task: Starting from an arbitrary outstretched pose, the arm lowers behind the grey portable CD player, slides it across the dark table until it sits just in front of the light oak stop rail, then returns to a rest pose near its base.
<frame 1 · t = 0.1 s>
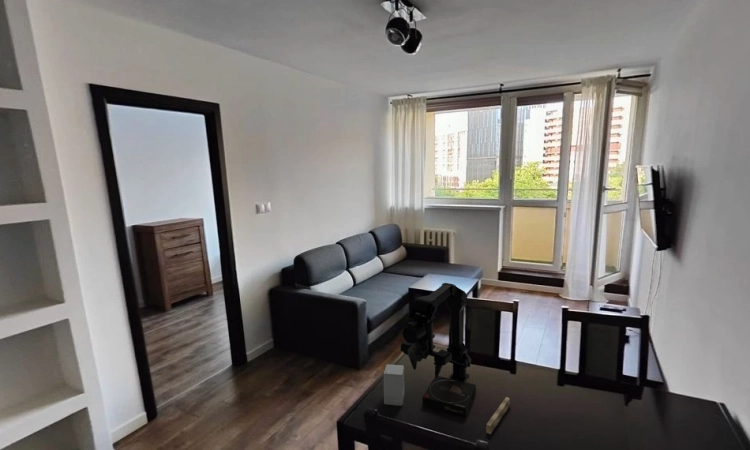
hand: (425, 373, 129), 15 cm above the table, fingers open, 9 cm apart
portable cd player: (449, 400, 137), on the table
oak stop rail: (498, 418, 125), on the table
supplement box: (394, 400, 138), on the table
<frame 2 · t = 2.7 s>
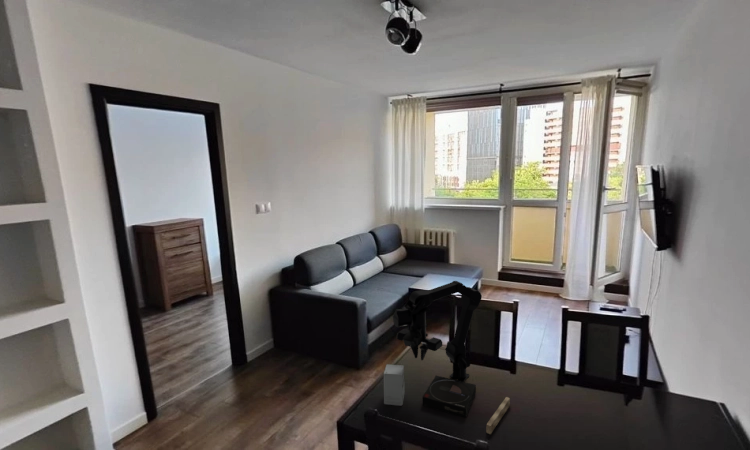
hand: (419, 358, 145), 12 cm above the table, fingers open, 3 cm apart
nothing on the table moved.
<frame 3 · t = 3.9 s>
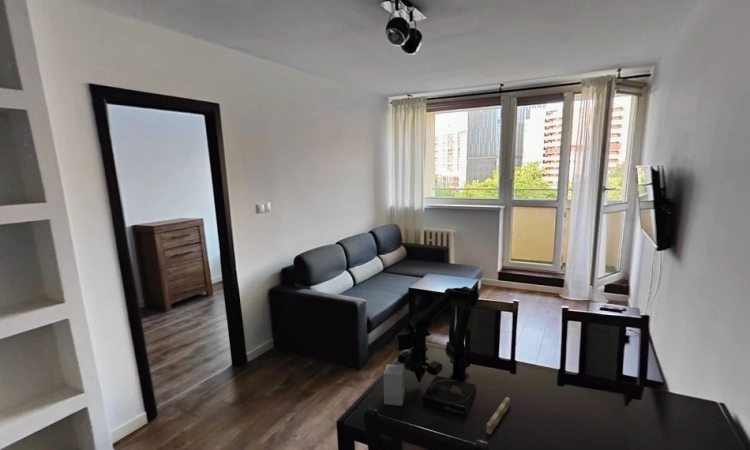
hand: (419, 381, 146), 2 cm above the table, fingers closed
nothing on the table moved.
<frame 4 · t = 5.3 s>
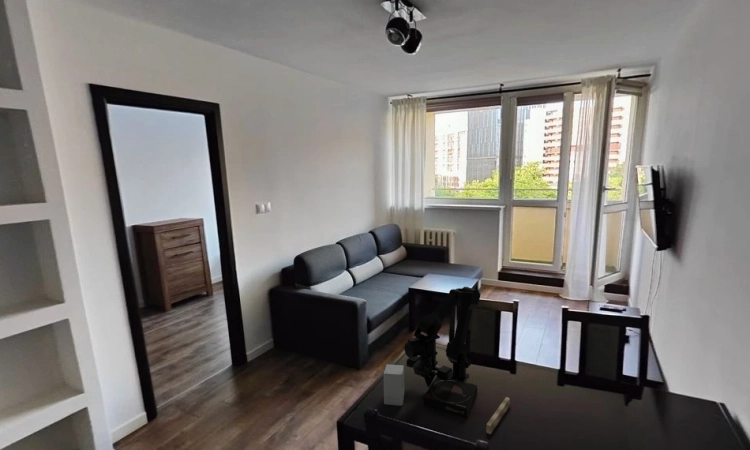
hand: (428, 386, 143), 2 cm above the table, fingers closed
portable cd player: (451, 400, 137), on the table, touching gripper
everything else where it was.
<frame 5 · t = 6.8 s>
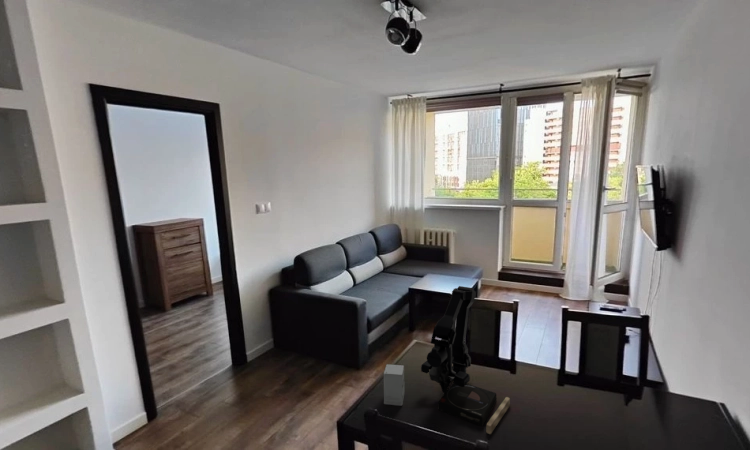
hand: (444, 392, 138), 2 cm above the table, fingers closed
portable cd player: (467, 406, 133), on the table, touching gripper
everything else where it was.
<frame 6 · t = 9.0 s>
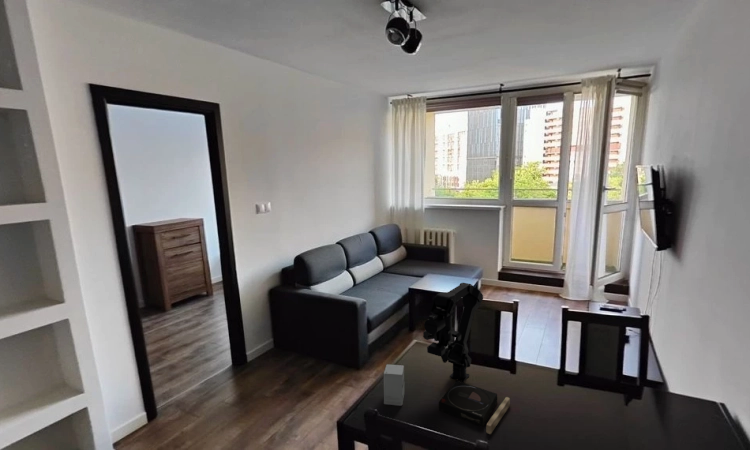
hand: (444, 362, 142), 12 cm above the table, fingers closed
portable cd player: (468, 407, 133), on the table
everything else where it was.
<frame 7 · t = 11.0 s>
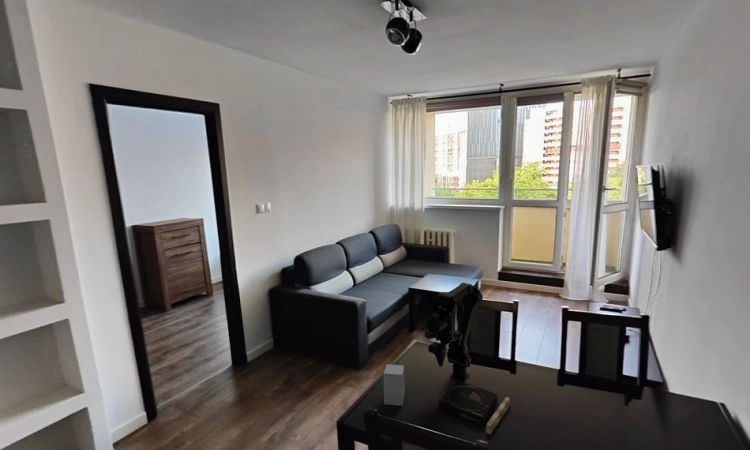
hand: (446, 361, 142), 12 cm above the table, fingers open, 9 cm apart
nothing on the table moved.
at the end: portable cd player inside the target area (1.6 cm from its centre), on the table; portable cd player moved 7.7 cm from its start; portable cd player tilted 0° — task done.
